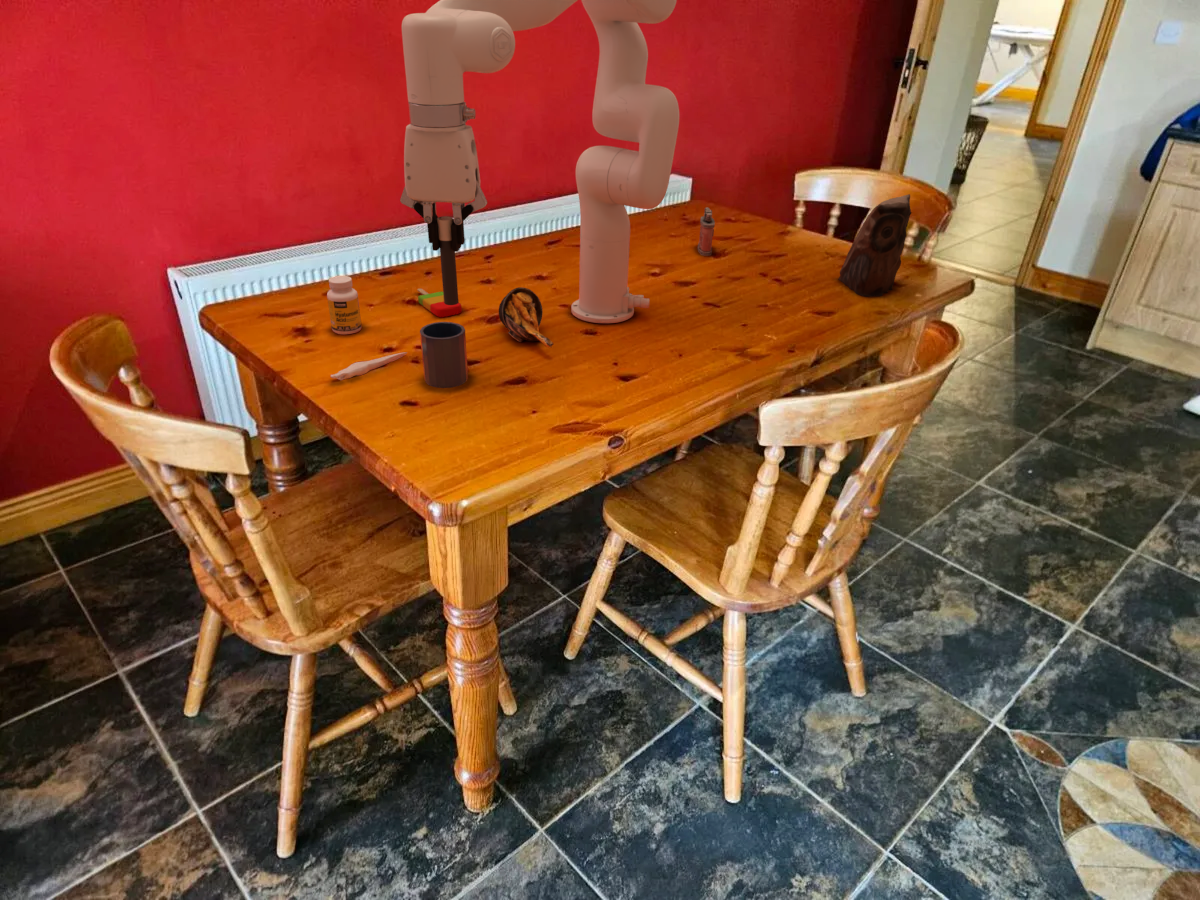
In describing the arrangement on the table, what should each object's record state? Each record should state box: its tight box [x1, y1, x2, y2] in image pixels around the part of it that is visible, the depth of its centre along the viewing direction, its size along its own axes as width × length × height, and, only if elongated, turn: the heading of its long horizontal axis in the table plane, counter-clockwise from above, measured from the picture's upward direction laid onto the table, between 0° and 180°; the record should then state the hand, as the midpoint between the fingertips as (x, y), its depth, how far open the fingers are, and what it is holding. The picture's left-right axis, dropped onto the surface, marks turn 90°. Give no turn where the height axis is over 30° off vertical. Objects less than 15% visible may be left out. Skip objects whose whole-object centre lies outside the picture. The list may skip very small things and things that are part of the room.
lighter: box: [697, 206, 716, 257], centre depth 194 cm, size 8×3×10 cm, turn 179°
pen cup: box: [419, 321, 469, 389], centre depth 128 cm, size 7×7×9 cm
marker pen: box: [437, 215, 459, 305], centre depth 119 cm, size 2×2×13 cm
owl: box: [837, 193, 912, 298], centre depth 171 cm, size 13×13×20 cm
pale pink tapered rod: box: [330, 351, 408, 381], centre depth 133 cm, size 15×3×2 cm, turn 139°
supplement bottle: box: [326, 275, 362, 335], centre depth 145 cm, size 5×5×10 cm
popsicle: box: [416, 288, 463, 318], centre depth 160 cm, size 6×15×2 cm, turn 35°
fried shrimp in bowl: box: [498, 286, 554, 349], centre depth 144 cm, size 9×11×18 cm
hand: (447, 247), depth 118 cm, fingers closed on marker pen, 2 cm apart
